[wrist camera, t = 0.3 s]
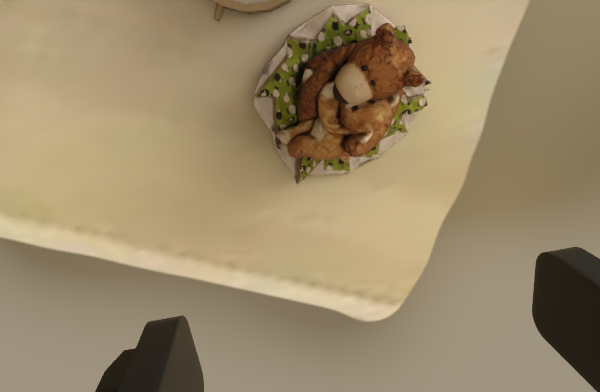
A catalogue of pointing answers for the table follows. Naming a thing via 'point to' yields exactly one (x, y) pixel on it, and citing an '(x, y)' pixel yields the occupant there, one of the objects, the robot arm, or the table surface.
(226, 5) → the alarm clock
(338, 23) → the animal figurine statue
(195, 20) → the table surface
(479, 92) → the table surface
